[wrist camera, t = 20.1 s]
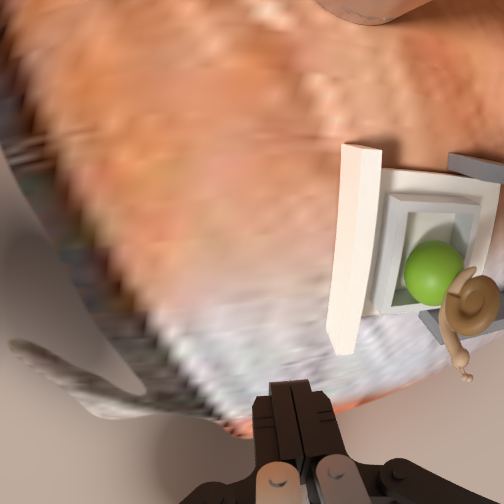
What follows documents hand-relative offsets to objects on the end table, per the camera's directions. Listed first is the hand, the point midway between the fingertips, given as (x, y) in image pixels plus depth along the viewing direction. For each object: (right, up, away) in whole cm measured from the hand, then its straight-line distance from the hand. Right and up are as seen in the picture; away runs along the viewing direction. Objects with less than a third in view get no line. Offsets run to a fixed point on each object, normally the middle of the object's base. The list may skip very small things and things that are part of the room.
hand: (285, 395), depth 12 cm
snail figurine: (+13, +5, +14) cm, 20 cm away
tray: (+14, +6, +14) cm, 21 cm away
